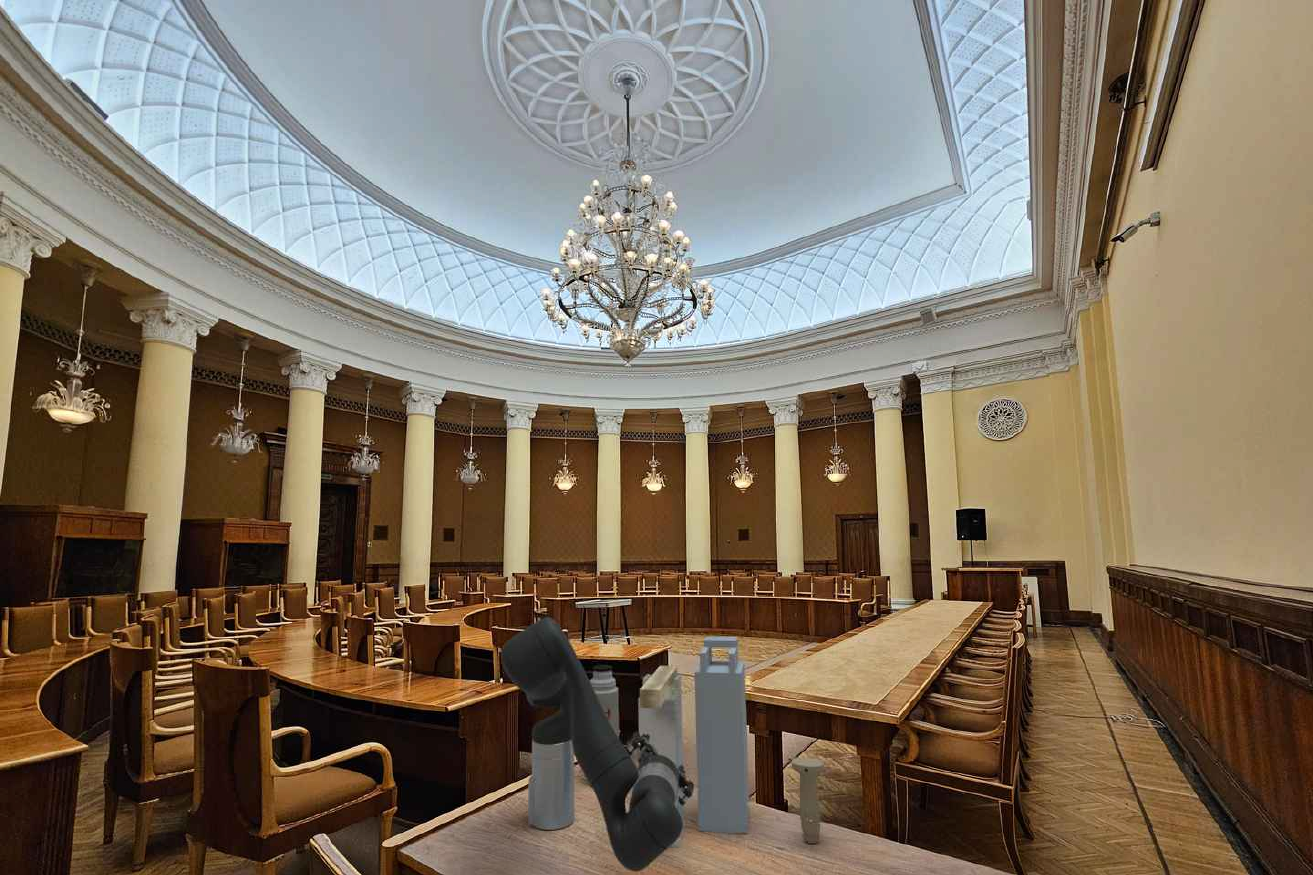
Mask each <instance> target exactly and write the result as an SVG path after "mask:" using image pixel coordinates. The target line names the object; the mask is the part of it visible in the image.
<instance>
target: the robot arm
mask: <svg viewBox="0 0 1313 875" xmlns="http://www.w3.org/2000/svg"><path fill="white" fill-rule="evenodd" d="M500 659H501V663H502V666H503V669H504V672H505V673H506V676H507V677H508V678H509V680H511V682H512V684H514V686H516V687H517V688H518V689H519V690H520V691H522V692H524V693H525V695H526V699H527V702H528V703H529V704H530V706H532V707H535V708H543V707H544V708H548V707H550V708H551V707H559V710H558V711H557V712H555V713H554V714H553V715H551V716H549V717H547V718H544V719H542V720H540V721H538V722H537V723H535V724H534V725H533V727H532V729H531V730H532V731H531V736H532V737H531V741H532V742H531V743H532V744H531V745H532V746H531V758H532V759H531V760H532V761H531V775H530V776H529V778H528V798H527V799H528V807H527V808H528V810H527V811H528V812H527V813H528V814H527V816H528V817H527V818H528V819H527V820H528V822H527V825H528V826H533V827H535V828H536V829H539V830H549V831H550V830H551V831H552V830H559V829H562V828H566V827H568V826H570V825H571V824H573V823H574V822H575V812H576V811H575V810H576V809H575V759H576V762H577V764H578V766H579V767H580V770H581V771H582V773H583V774H584V776H585V778H586V780H587V783H588V782H589V783H590V785H591V786H590V785H589V786H590V787H591V789H592V791H593V792H594V794H595V796H596V798H597V801H598V804H599V807H600V810H601V812H602V817H603V820H604V823H605V827H606V831H607V836H608V838H609V842H610V846H611V849H612V851H613V854H614V856H615V858H616V860H617V861H618V862H619V864H620V865H621V866H623V867H624V869H627V870H629V871H631V872H635V873H637V872H638V873H639V872H642V871H643V870H644V869H646V868H647V867H649V865H650V864H651V863H653V862H654V861H655V860H656V859H658V857H659V856H660V855H662V854H663V853H664V852H665V851H666V850H668V849H669V848H671V845H672V844H673V843H674V842H675V841H676V840H677V839H678V837H679V836H680V834H681V832H682V828H683V822H682V818H681V816H680V813H679V811H678V810H677V808H676V806H675V805H674V804H675V802H676V799H677V798H678V799H679V800H678V801H679V803H680V804H681V805H682V806H684V807H685V804H686V803H687V802H688V801H689V800H690V798H691V797H692V796H693V792H694V788H695V784H694V783H693V781H691V780H689V781H688V780H687V775H686V771H685V766H684V765H683V766H682V765H680V766H679V768H678V769H677V768H676V766H675V764H674V763H673V762H672V761H671V760H670V759H669V758H667V757H665V756H663V755H659V754H658V752H657V751H656V749H655V747H654V746H653V745H651V744H649V739H650V735H648V734H647V735H645V734H643V735H642V736H641V737H640V734H639V731H634V733H633V734H632V735H631V736H630V738H629V739H628V740H627V742H626V746H625V745H623V743H622V741H621V740H620V737H619V738H618V736H617V735H616V733H615V731H614V730H613V728H612V726H611V724H610V723H609V721H608V719H607V717H606V715H605V713H604V711H603V709H602V707H601V704H600V702H599V700H598V698H597V696H596V693H595V691H594V689H593V687H592V685H591V683H590V679H589V677H588V675H587V673H586V671H585V669H584V667H583V665H582V663H581V660H580V659H579V657H578V654H576V652H575V649H574V648H573V645H572V643H571V642H570V640H569V638H568V637H567V635H566V633H565V632H564V630H563V629H562V628H561V626H560V624H558V623H557V621H555V620H554V619H553V618H551V617H548V616H546V617H543V618H541V619H539V620H538V621H537V620H536V621H535V622H534V623H533V624H531V625H530V626H528V627H526V628H525V629H523V630H522V631H521V632H519V633H517V634H516V635H514V636H512V637H511V638H510V639H509V640H508V641H506V642H504V645H502V648H501V652H500ZM644 747H645V748H644ZM643 748H644V749H643ZM642 749H643V751H642ZM651 752H652V753H651ZM632 756H635V757H636V758H637V762H638V766H637V765H636V764H635V762H634V761H633V759H632ZM630 791H631V796H630V800H629V805H628V809H629V810H628V812H627V810H626V798H627V796H628V795H629V793H630ZM677 795H678V796H677Z"/></svg>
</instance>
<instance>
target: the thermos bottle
mask: <svg viewBox="0 0 1313 875" xmlns="http://www.w3.org/2000/svg"><path fill="white" fill-rule="evenodd" d="M612 670H613V666H612V665H610V664H609V665H608V664H599V665H594V666H593V667H592V671H593V672H592V678H591V679H589V681H590V683H591V685H592V687H593V689H594V691H595V693H596V696H597V698H598V700H599V702H600V704H601V707H602V709H603V711H604V713H605V715H606V717H607V719H608V721H609V723H610V724H611V726H612V728H613V730H614V731H615V733H616V735H617V736H618V738H619V739H620V726H619V725H620V724H619V723H620V721H619V719H620V717H619V716H620V715H619V713H620V712H619V688H618V687H617V686H616V684H617V683H616V682H617V681H616V678H614V677H613V671H612ZM587 785H588V786H590V787H591V785H590V783H589V782H588V781H587Z"/></svg>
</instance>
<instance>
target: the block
mask: <svg viewBox="0 0 1313 875" xmlns="http://www.w3.org/2000/svg"><path fill="white" fill-rule="evenodd" d="M677 675H678V666H677V665H659V667H658V668H657V669H656V670H655V671H654V673H652V674H651V677H650V678H649V679H648V680H647V682H646V683H645V684H644V685H643V684H642V687H641V688H639V698H640V708H659V709H660V708H661V706H662V705H663V703H664V702H665V700H666V699H667V697H668V696H669V694H670V693H671V691H672V690H673V689H674V679H675V678H676V676H677Z"/></svg>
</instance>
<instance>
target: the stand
mask: <svg viewBox="0 0 1313 875" xmlns="http://www.w3.org/2000/svg"><path fill="white" fill-rule="evenodd" d="M738 638H739V637H738V636H705V637H704V639H703V647H702V649H701V651H700V652H699V664H698V666H697V667H696V669H695V671H694V704H695V705H694V706H695V740H696V741H695V744H696V746H695V748H696V778H697V779H696V780H697V782H696V784H697V785H696V786H697V820H698V825H697V826H698V831H699V832H707V833H708V832H710V833H712V832H713V833H722V834H723V833H726V834H737V833H747V834H748V826H749V819H750V811H751V810H749V809H750V807H748V806H750V785H749V782H750V781H749V780H750V779H749V755H748V730H747V728H748V726H747V704H746V701H747V699H746V698H747V697H746V679H745V678H746V675H745V674H746V673H745V671H746V670H745V668H746V667H745V661H739V639H738ZM713 648H726V649H727V648H729V652H728V660H727V661H725V660H713V656H712V654H713V653H712V652H713V651H712V650H713ZM747 803H749V805H748V804H747ZM748 818H749V819H748Z"/></svg>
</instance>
